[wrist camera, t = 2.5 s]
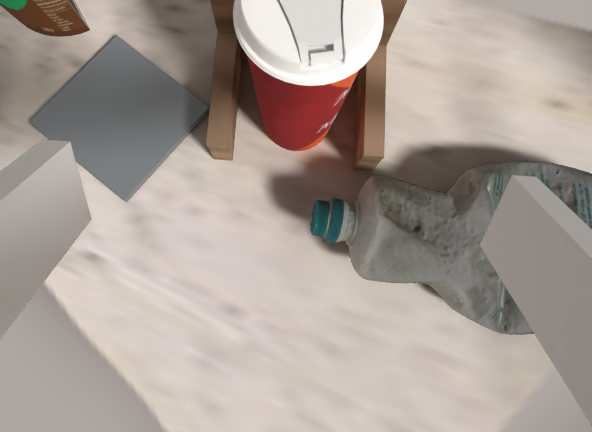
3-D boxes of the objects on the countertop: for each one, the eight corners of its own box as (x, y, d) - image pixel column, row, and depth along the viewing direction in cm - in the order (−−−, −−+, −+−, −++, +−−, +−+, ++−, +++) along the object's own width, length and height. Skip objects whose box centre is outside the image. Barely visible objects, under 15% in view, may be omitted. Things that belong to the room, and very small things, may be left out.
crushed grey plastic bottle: (612, 185, 32) (321, 135, 31) (707, 168, 25) (335, 102, 24) (599, 343, 31) (296, 296, 30) (695, 371, 24) (302, 311, 23)
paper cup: (350, 156, 32) (406, 59, 18) (258, 170, 31) (242, 81, 17) (332, 70, 33) (372, -83, 19) (244, 82, 32) (219, -67, 19)
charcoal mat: (210, 110, 32) (208, 107, 31) (126, 202, 30) (123, 200, 30) (119, 39, 32) (116, 35, 32) (33, 125, 31) (28, 122, 30)
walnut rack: (372, 170, 32) (429, 103, 20) (213, 159, 31) (174, 83, 19) (375, 54, 33) (429, -71, 22) (225, 41, 33) (196, -93, 21)
